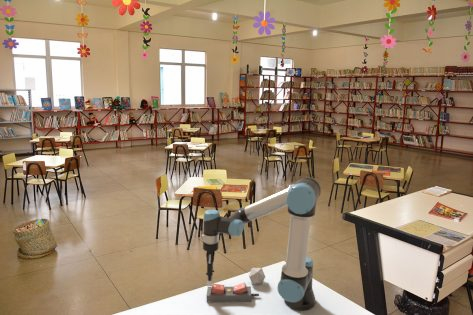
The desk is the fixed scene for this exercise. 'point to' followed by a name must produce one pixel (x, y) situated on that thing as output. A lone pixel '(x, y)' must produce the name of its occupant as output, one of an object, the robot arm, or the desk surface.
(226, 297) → the power strip
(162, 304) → the desk surface
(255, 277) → the die
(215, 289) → the rocker
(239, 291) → the rocker
